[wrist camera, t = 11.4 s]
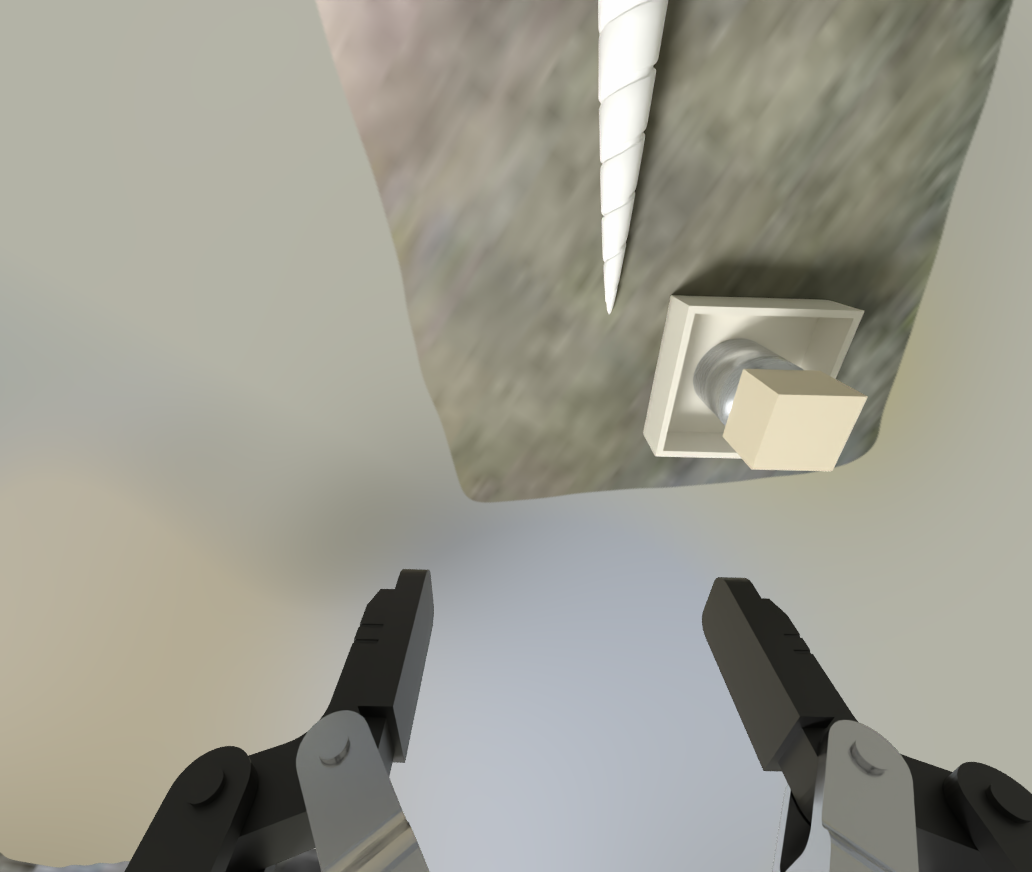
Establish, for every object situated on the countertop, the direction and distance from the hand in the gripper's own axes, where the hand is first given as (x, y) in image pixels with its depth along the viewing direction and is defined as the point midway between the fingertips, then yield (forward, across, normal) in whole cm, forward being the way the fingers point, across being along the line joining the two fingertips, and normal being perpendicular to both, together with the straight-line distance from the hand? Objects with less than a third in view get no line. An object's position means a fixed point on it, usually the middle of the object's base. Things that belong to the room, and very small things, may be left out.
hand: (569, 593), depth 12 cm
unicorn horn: (+31, -6, -14) cm, 34 cm away
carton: (+22, -19, +4) cm, 30 cm away
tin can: (+30, -19, +4) cm, 35 cm away
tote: (+30, -19, +4) cm, 36 cm away
